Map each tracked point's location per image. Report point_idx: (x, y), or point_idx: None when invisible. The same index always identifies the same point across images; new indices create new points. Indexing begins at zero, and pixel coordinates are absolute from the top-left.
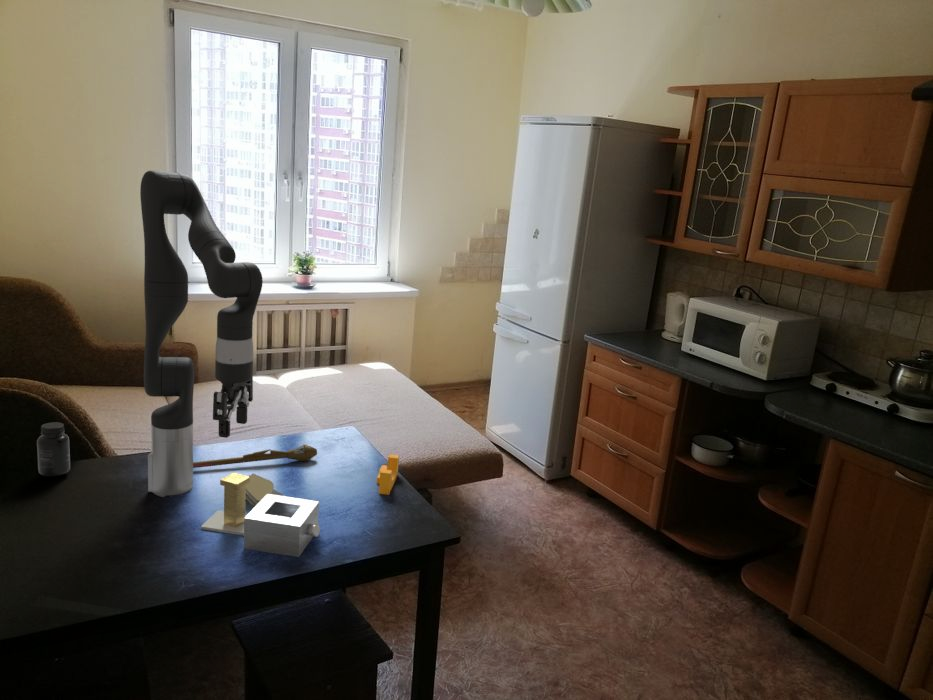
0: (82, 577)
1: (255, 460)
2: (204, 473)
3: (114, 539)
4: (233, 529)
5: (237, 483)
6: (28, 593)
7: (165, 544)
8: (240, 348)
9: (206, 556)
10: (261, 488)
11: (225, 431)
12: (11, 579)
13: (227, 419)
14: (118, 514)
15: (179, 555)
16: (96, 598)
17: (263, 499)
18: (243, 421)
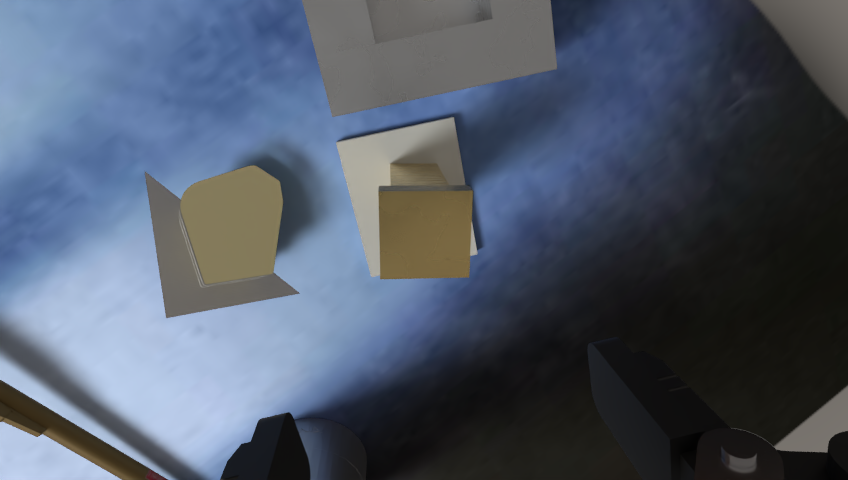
0: (767, 319)
1: (21, 393)
2: (191, 455)
3: None
4: (449, 163)
5: (466, 195)
6: (841, 356)
7: (583, 272)
8: None
9: (598, 139)
10: (234, 214)
11: (673, 374)
12: (803, 416)
13: (772, 448)
14: (502, 454)
15: (618, 205)
16: (836, 235)
17: (385, 98)
18: (291, 436)
